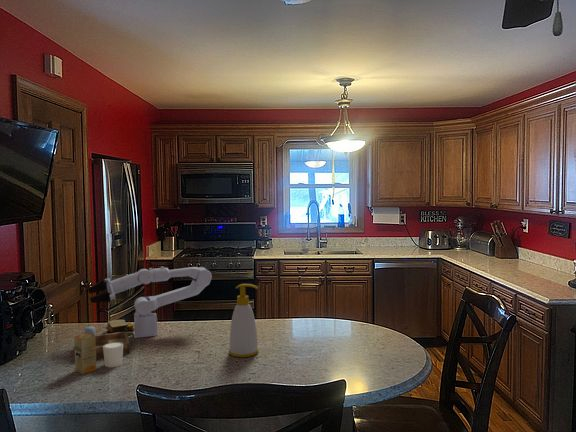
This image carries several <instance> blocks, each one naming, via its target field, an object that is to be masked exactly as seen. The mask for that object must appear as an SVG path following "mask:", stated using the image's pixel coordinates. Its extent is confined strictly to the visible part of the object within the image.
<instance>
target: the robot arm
mask: <svg viewBox="0 0 576 432" xmlns="http://www.w3.org/2000/svg"><path fill="white" fill-rule="evenodd" d="M179 277H180V278H182V277H189V278H192V280H191V283H190V285H187V286H183V287H180V288H176V289H174V290H170V291H167V292H163V293H161V294H157V295H151V296H150V295H149V296H140V297H137V298H136V299H135V300H134V303H133V307H134V309H135V312H134V313H133V320H134V322H133V323H134V325H133V328H134V329H135V332H134V333H133V334H132V336H133V338H134V339H139V338H147V337H155V336H158V329H159V328H158V317H157V313H156V312H154V311H156V310H157V309H159V308H160V307H163V306H166V305H169V304H172V303H173V304H174V303H176V302H179V301H182V300H185V299H189V298H191V297H195V296H198V295H199V294H200V293H201V292H202V291H203V290H204V289H205V288H206V287H208V286H209V285H210V283H211V281H212V279H213V274H212V273H211V271H210V270H209V269H206V267H204V266H199V267H198V266H191V267H183V268H174V269H169V267H165V266H160V267H158V268H153V267H149V268H148V269H147V268H141V269H139V270H138V271H136V272H133V273H129V274H127V275H125V276H121V277H119V278H115V279H112V280H111V279H110V277H107V278H105V279H104V278H100V279H99V281H97V282H96V283H95V284H93V285H92V286H91V287H89V288H87V290H88V293H89V294H94V293H97V294H95V295H93V296H91V297H90V298H89V300H90V303H91V304H95V303H112V301H113V300H115V299H117V298H116V294H119V293H121V292H125V291H127V290H130V289H133V288H135V287H137V286H140V285H149V284H150V283H158V282H167V281H169V279H171V278H179ZM98 292H100V293H98ZM153 312H154V313H153Z"/></svg>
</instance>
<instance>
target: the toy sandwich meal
mask: <svg viewBox="0 0 576 432" xmlns="http://www.w3.org/2000/svg"><path fill="white" fill-rule="evenodd" d="M105 330H106V331H105V334H111V333H120V332H127V335H128V337H129V336H131V335H133V333H134V332H135V329H134V325H133V324H132V323H131V321H127V322H126V320H125V319H114V320H110V321H107V326H105Z"/></svg>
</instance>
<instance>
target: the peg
mask: <svg viewBox="0 0 576 432" xmlns="http://www.w3.org/2000/svg"><path fill="white" fill-rule="evenodd" d="M86 333H90V334H92V335H96V327H95V326H86V327H84V334H86Z"/></svg>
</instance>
